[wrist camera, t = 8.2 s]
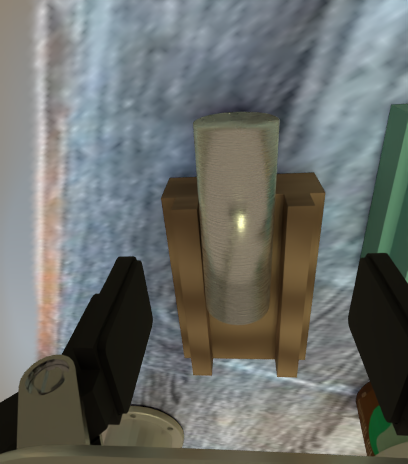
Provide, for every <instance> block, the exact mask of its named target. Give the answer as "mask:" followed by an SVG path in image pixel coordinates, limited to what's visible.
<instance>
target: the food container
mask: <svg viewBox="0 0 408 464" xmlns="http://www.w3.org/2000/svg"><path fill="white" fill-rule="evenodd" d="M356 405H357V410H358V414H359V419H360V424H361V429H362V434H363V438H364V443H365V448H366V453H367V456H372V457H393V458H408V436H400V435H397V434H396V432H395V429H394V427H393V424H392V423H388V422H386V420H385V418H384V416H383V413H382V411H381V408H380V406H379V403H378V400H377V398H376V395H375V393H374V390H373V387H372V385H371V382H368V383H367V384H366V385H364V386H363V387H362V388H361V389H360V391H359V392H358V394H357V397H356Z"/></svg>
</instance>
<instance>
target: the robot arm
mask: <svg viewBox="0 0 408 464" xmlns="http://www.w3.org/2000/svg"><path fill="white" fill-rule="evenodd" d="M152 323H153V316H152V311H151V306H150V301H149V296H148V291H147V286H146V281H145V276H144V271H143V266H142V262H141V261H140V260H137V259H136V257H134V256H128V257H118V258H117V260H116V262H115V264H114V266H113V268H112V270H111V272H110V274H109V276H108V278H107V280H106V282H105V284H104V286H103V288H102V290H101V292H100V294H95V295H93V297H92V298H91V300H90V302H89V304H88V306H87V308H86V309H85V311H84V313H83V315H82V317H81V319H80V321H79V323H78V325H77V327H76V328H75V330H74V332H73V334H72V336H71V338H70V340H69V342H68V344H67V346H66V347H65V349H64V351H63V353H62V355H52V356H48V357H45V358H43V359H41V360H39V361H37V362H36V363H34V364H33V365H32V366H31V367H30V368H29V369H28V370H27V371H26V372H25V373H24V375H23V376H22V378H21V380H20V384H19V392H17V393H16V394H14V395H12V396H11V397H9V398H7V399H6V400H4V401H2V402H1V403H0V464H408V458H393V457H372V456H352V455H331V454H310V453H287V452H264V451H241V450H217V449H192V448H182V446H183V441H184V433H183V430H182V428H181V426H180V425H179V424H178V423H177V422H176V421H175V420H174V419H173V418H171V417H170V416H168V415H166V414H165V413H162V412H160V411H158V410H154V409H151V408H147V407H141V406H130V405H131V401H132V397H133V394H134V390H135V387H136V383H137V379H138V376H139V372H140V368H141V365H142V361H143V357H144V354H145V350H146V346H147V343H148V339H149V335H150V332H151V328H152ZM348 324H349V328H350V330H351V333H352V336H353V338H354V341H355V343H356V346H357V349H358V351H359V354H360V356H361V359H362V361H363V364H364V367H365V369H366V372H367V374H368V377H369V380H370V382H371V385H372V387H373V390H374V393H375V395H376V398H377V400H378V403H379V406H380V408H381V411H382V413H383V416H384V418H385V420H386V422H388V423H392V424H393V427H394V429H395V432H396V434H397V435H400V436H408V283H407V281H406V280H405V278H404V277H403V275H402V274H401V272H400V271H399V270H398V268H397V267H396V265H395V264H394V262H393V261H392V259H391V258H390V256H389V255H388V254H387V253H367V254H366V256H365V257H362V258H361V259H360V261H359V266H358V271H357V276H356V281H355V286H354V291H353V296H352V301H351V305H350V310H349V315H348Z"/></svg>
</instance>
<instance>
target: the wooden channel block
mask: <svg viewBox="0 0 408 464" xmlns="http://www.w3.org/2000/svg"><path fill="white" fill-rule="evenodd" d="M324 200H325V191H324V189H323V188H322V186H321V184H320V182H319V180H318V179H317V177H316V175H315V173H314V172H313V173H287V174H277V176H276V194H275V212H274V230H273V248H272V266H271V284H270V302H269V309H268V311H267V313H266V314H265V315H264V316H263V317H262V318H261V319H259V320H258V321H256V322H253V323H250V324H246V325H231V324H226V323H223V322H221V321H219V320H217V319H215V318H214V317H213V316H212V315H211V314H210V313H209V311H208V309H207V307H206V296H205V282H204V269H203V255H202V241H201V227H200V213H199V199H198V185H197V177H182V178H169V181H168V183H167V185H166V188H165V190H164V192H163V195H162V197H161V201H162V208H163V215H164V221H165V228H166V235H167V242H168V248H169V255H170V262H171V269H172V275H173V282H174V289H175V296H176V302H177V309H178V316H179V323H180V329H181V336H182V343H183V350H184V356H185V358H191V361H192V368H193V375H209V376H212V366H213V358H226V359H275V363H276V371H277V377H297V370H298V361H299V360H305V355H306V347H307V339H308V330H309V322H310V314H311V306H312V298H313V290H314V282H315V273H316V265H317V257H318V249H319V241H320V233H321V225H322V217H323V208H324Z"/></svg>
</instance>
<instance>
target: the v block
mask: <svg viewBox="0 0 408 464" xmlns="http://www.w3.org/2000/svg"><path fill="white" fill-rule="evenodd" d="M367 253H387V254H388V255H389V256H390V258H391V259H392V261H393V262H394V264H395V265H396V267H397V268H398V270H399V271H400V272H401V274H402V275H403V277H404V278H405V280H406V281H407V283H408V104H395V105H391V109H390V114H389V119H388V124H387V129H386V134H385V139H384V143H383V148H382V153H381V158H380V163H379V168H378V173H377V178H376V183H375V188H374V193H373V198H372V203H371V208H370V213H369V218H368V223H367V228H366V233H365V238H364V242H363V247H362V252H361V257H360V259H361V258H362V257H365V256H366V254H367Z"/></svg>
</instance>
